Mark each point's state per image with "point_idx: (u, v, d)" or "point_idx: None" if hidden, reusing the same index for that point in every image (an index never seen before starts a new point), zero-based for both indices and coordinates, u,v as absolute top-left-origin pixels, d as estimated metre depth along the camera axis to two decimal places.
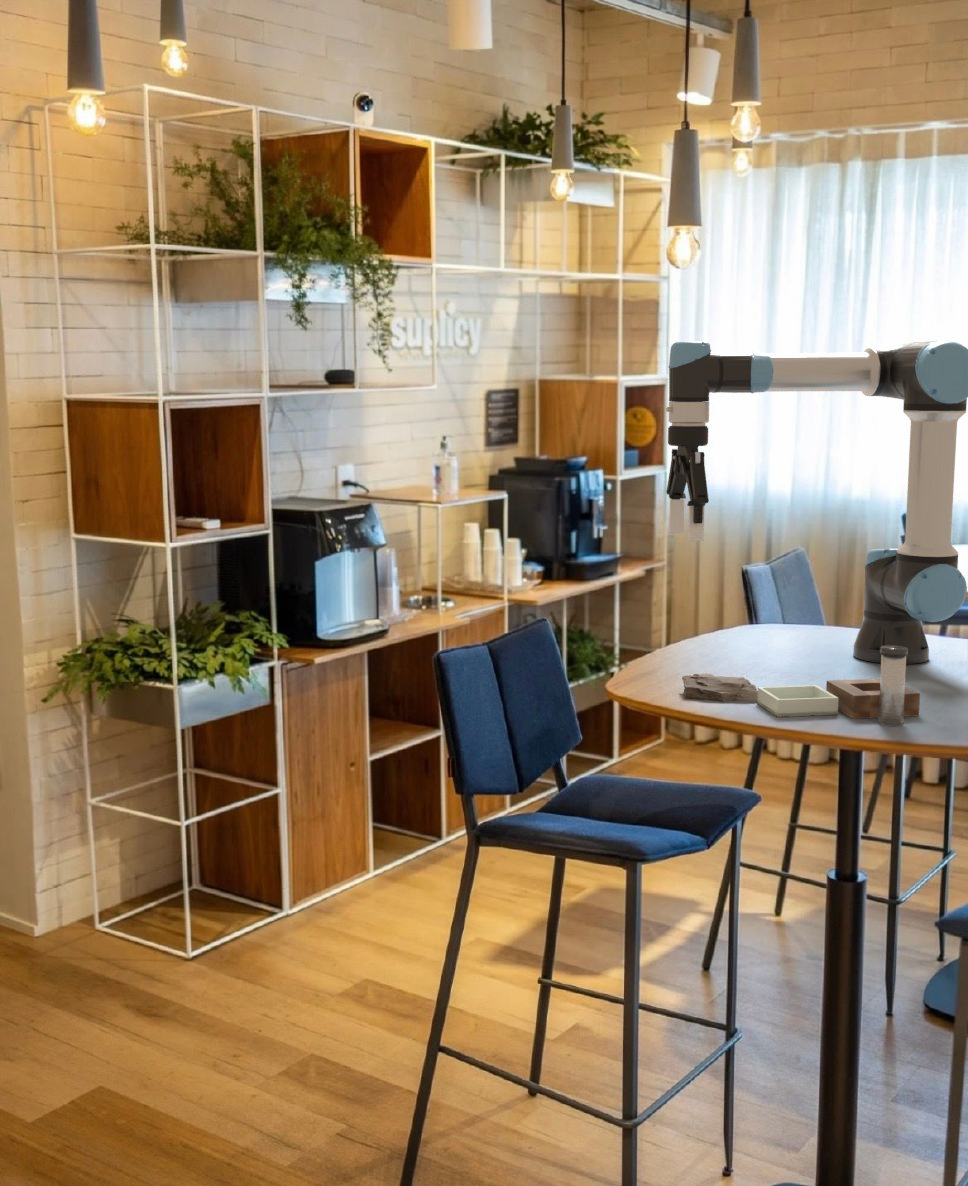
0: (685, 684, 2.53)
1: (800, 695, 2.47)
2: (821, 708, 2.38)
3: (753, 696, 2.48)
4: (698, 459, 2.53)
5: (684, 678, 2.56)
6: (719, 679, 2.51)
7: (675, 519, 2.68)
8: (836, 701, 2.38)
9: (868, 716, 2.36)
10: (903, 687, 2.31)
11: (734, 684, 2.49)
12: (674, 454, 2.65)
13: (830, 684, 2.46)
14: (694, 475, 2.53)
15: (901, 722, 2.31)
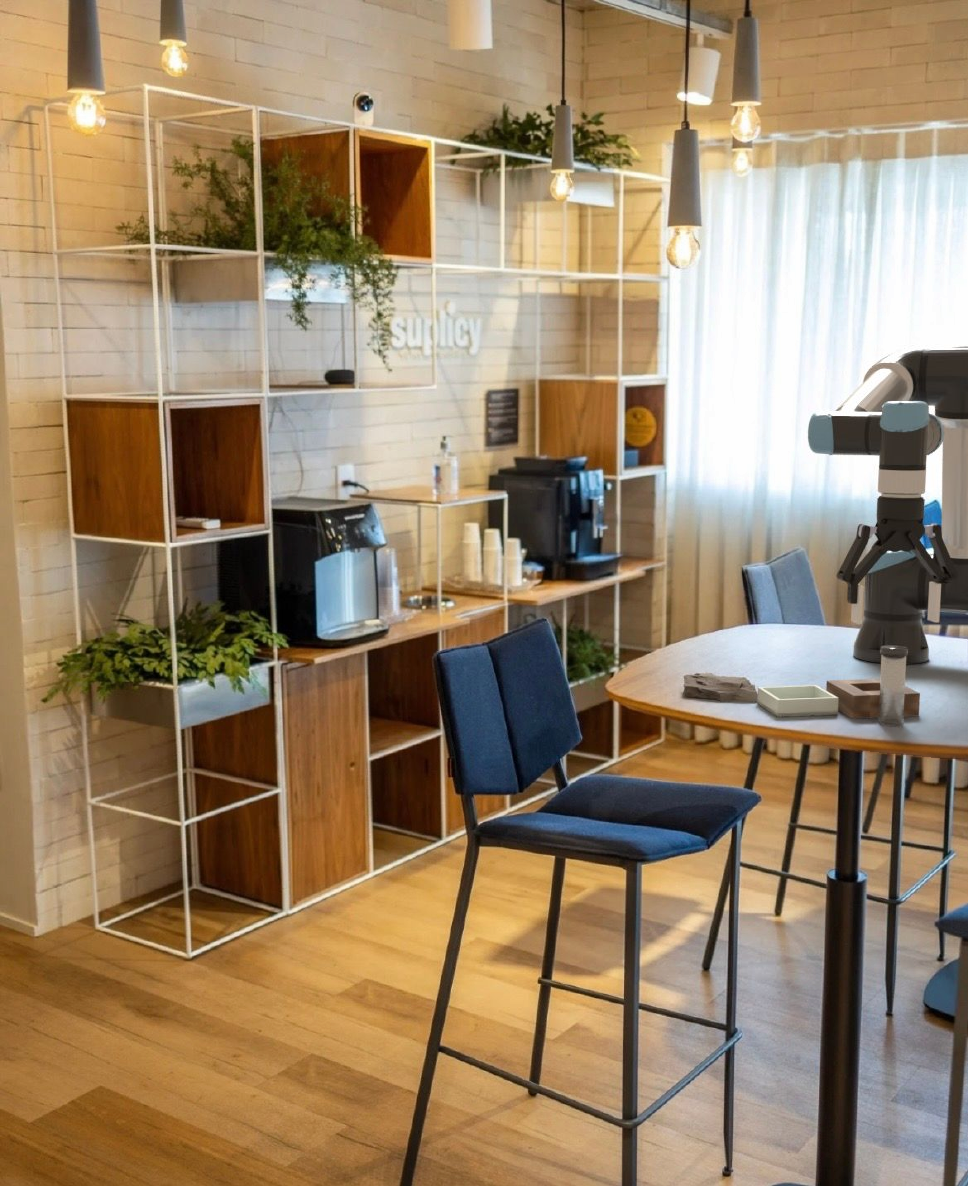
0: (685, 683, 2.54)
1: (800, 695, 2.47)
2: (821, 708, 2.38)
3: (751, 695, 2.48)
4: (860, 533, 2.27)
5: (685, 677, 2.57)
6: (719, 679, 2.52)
7: (930, 605, 2.31)
8: (836, 701, 2.38)
9: (868, 716, 2.36)
10: (903, 687, 2.31)
11: (733, 684, 2.50)
12: None
13: (830, 684, 2.46)
14: (850, 549, 2.28)
15: (901, 722, 2.31)
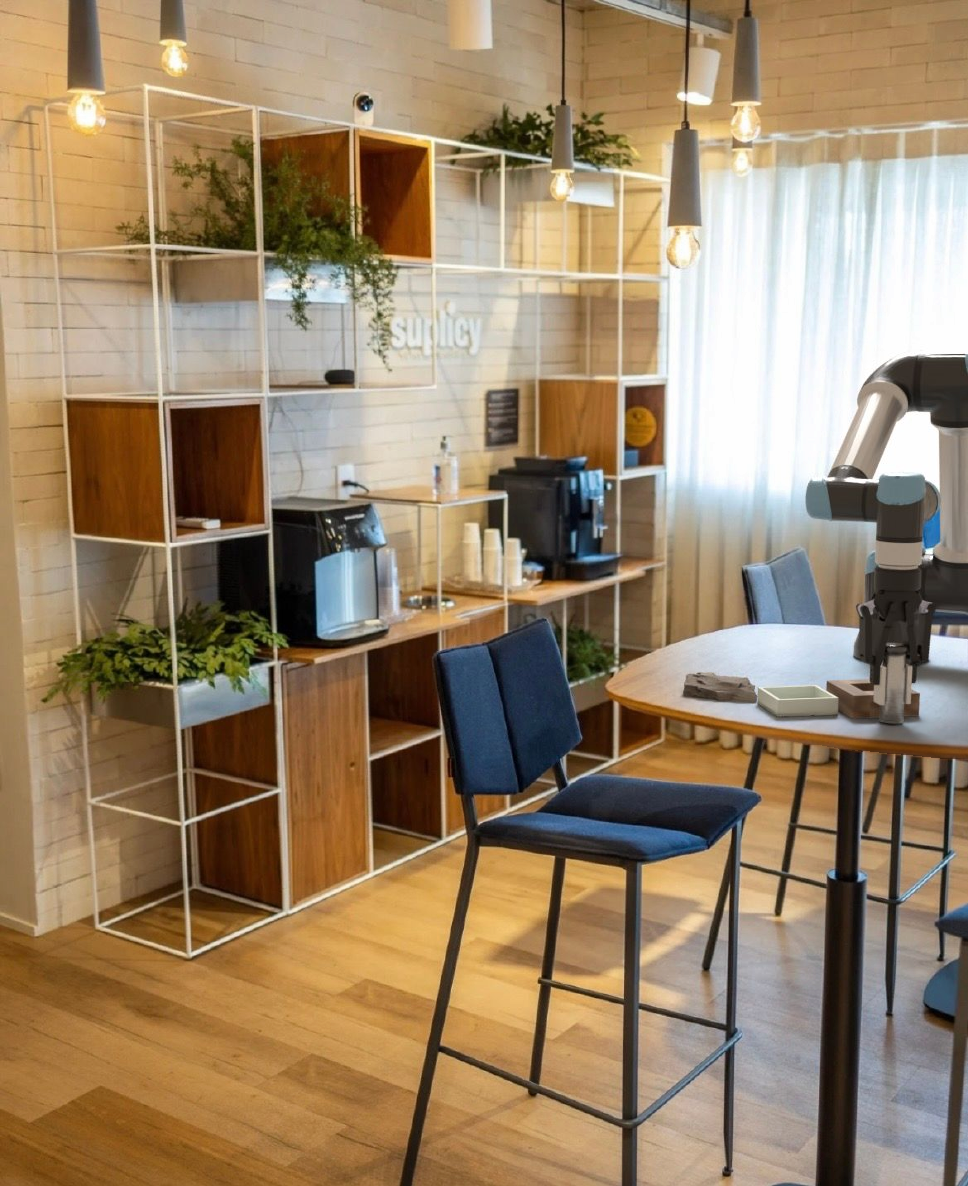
0: (685, 682, 2.55)
1: (800, 695, 2.47)
2: (821, 708, 2.38)
3: (750, 696, 2.48)
4: (860, 614, 2.29)
5: (687, 676, 2.58)
6: (718, 678, 2.52)
7: None
8: (836, 701, 2.38)
9: (868, 716, 2.36)
10: (903, 684, 2.31)
11: (732, 684, 2.50)
12: None
13: (830, 684, 2.46)
14: (859, 630, 2.31)
15: (901, 719, 2.32)
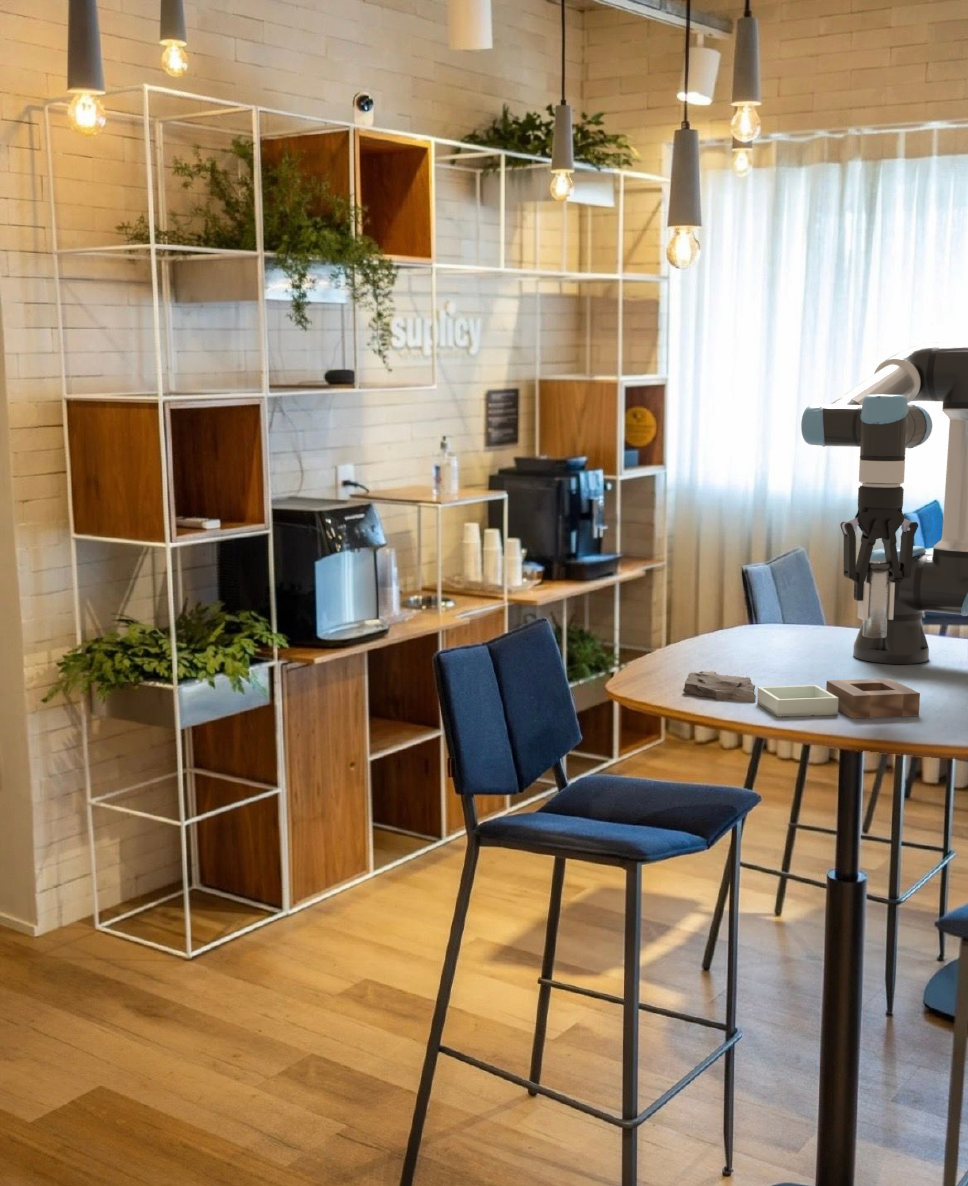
0: (686, 680, 2.56)
1: (800, 695, 2.47)
2: (821, 708, 2.38)
3: (748, 695, 2.49)
4: (845, 531, 2.37)
5: (690, 675, 2.59)
6: (719, 677, 2.53)
7: None
8: (836, 701, 2.38)
9: (868, 716, 2.36)
10: (886, 600, 2.38)
11: (731, 683, 2.50)
12: None
13: (830, 684, 2.46)
14: (844, 548, 2.38)
15: (884, 634, 2.39)
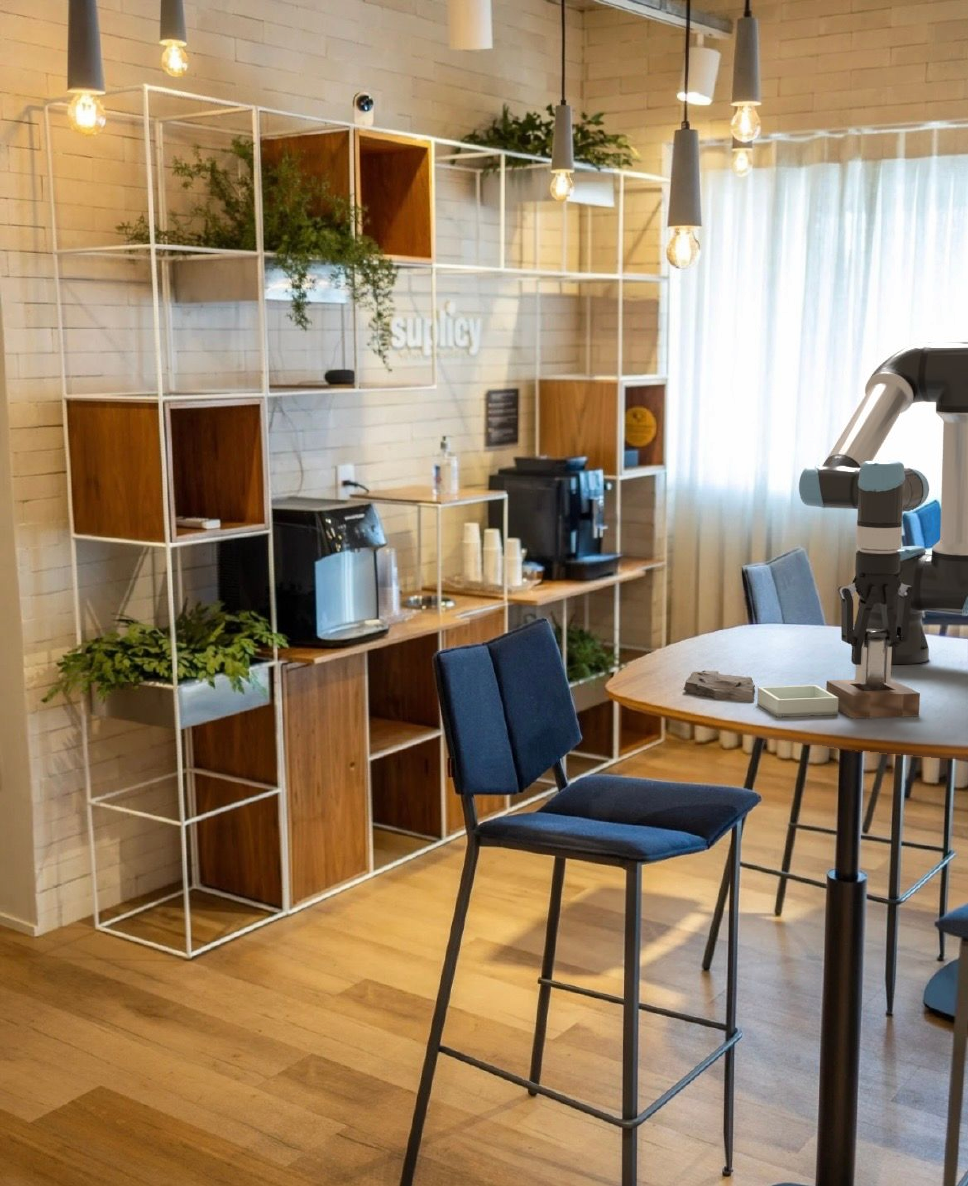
0: (687, 679, 2.57)
1: (800, 695, 2.47)
2: (821, 708, 2.38)
3: (746, 695, 2.49)
4: (842, 596, 2.39)
5: (692, 674, 2.59)
6: (719, 677, 2.53)
7: None
8: (836, 701, 2.38)
9: (868, 716, 2.36)
10: (883, 668, 2.40)
11: (730, 682, 2.51)
12: None
13: (830, 684, 2.46)
14: (842, 612, 2.40)
15: None
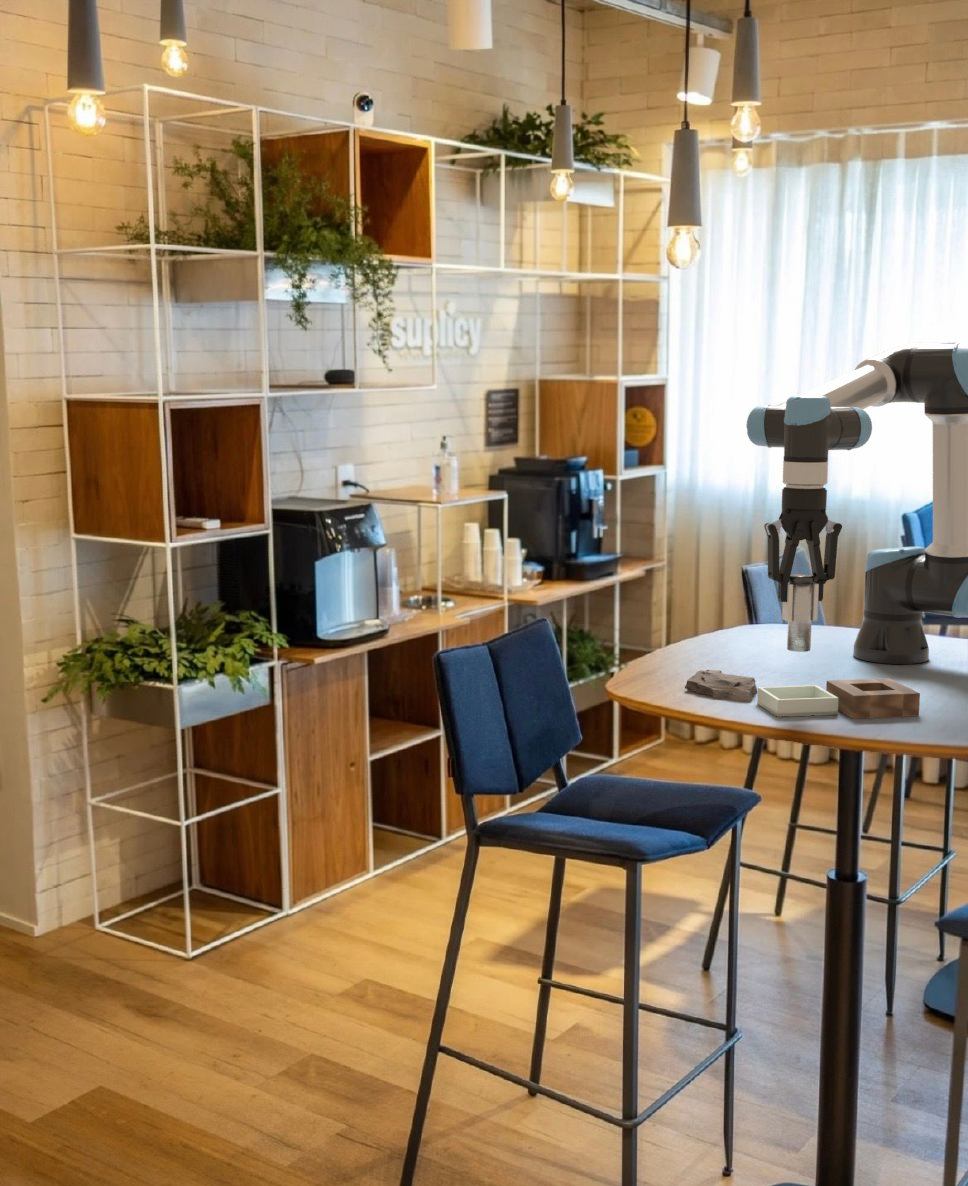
0: (690, 678, 2.58)
1: (800, 695, 2.47)
2: (821, 708, 2.38)
3: (744, 695, 2.49)
4: (768, 532, 2.37)
5: (697, 672, 2.60)
6: (719, 676, 2.54)
7: None
8: (836, 701, 2.38)
9: (868, 716, 2.36)
10: (810, 614, 2.39)
11: (729, 682, 2.51)
12: None
13: (830, 684, 2.46)
14: (768, 549, 2.38)
15: (808, 648, 2.40)
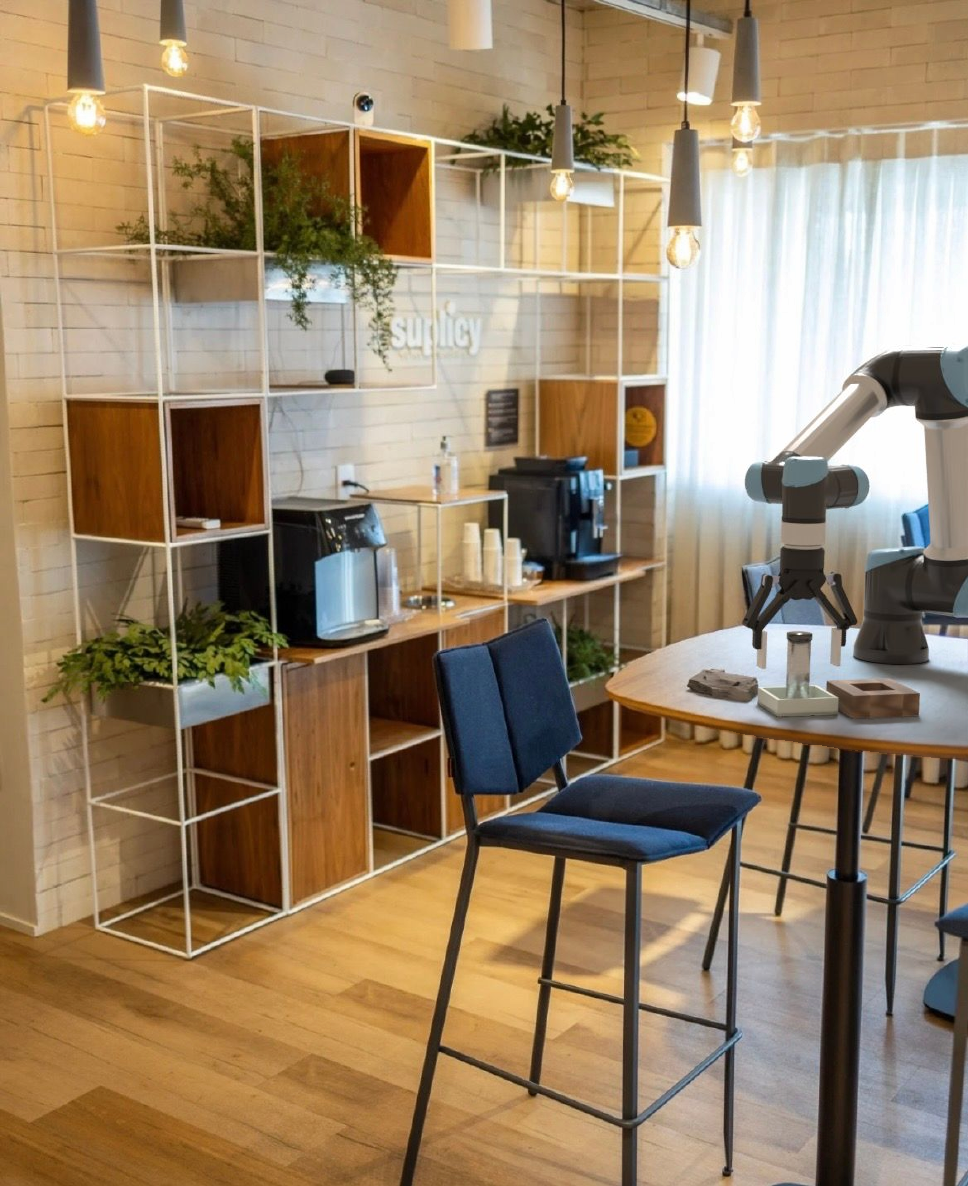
0: (693, 677, 2.59)
1: None
2: (821, 708, 2.38)
3: (742, 695, 2.49)
4: (763, 582, 2.38)
5: (701, 671, 2.61)
6: (720, 675, 2.54)
7: (832, 649, 2.43)
8: (836, 701, 2.38)
9: (868, 716, 2.36)
10: (808, 671, 2.40)
11: (728, 681, 2.52)
12: None
13: (830, 684, 2.46)
14: (755, 597, 2.40)
15: None
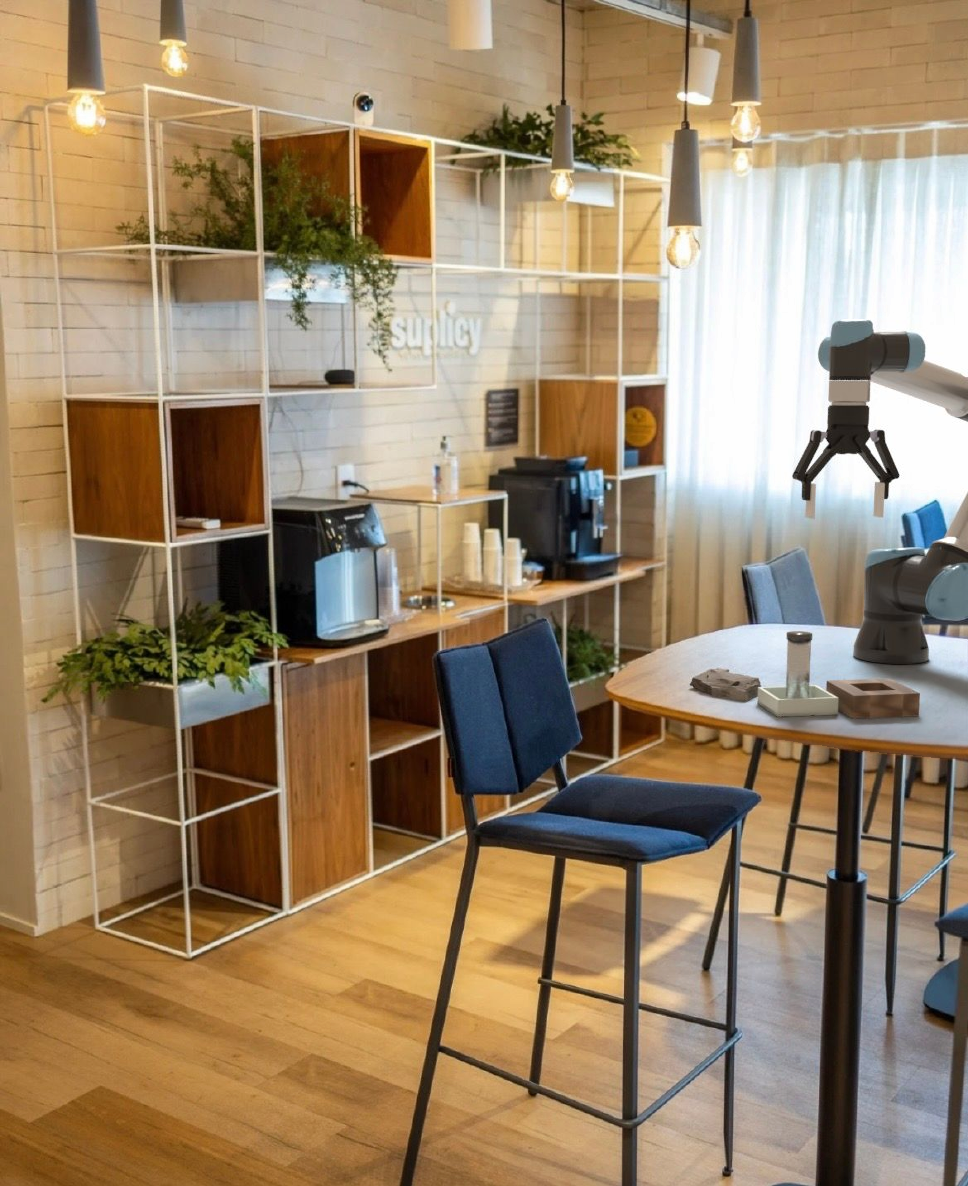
0: (697, 675, 2.60)
1: None
2: (821, 708, 2.38)
3: (740, 694, 2.49)
4: (812, 437, 2.56)
5: (707, 670, 2.62)
6: (722, 675, 2.55)
7: (876, 502, 2.61)
8: (836, 701, 2.38)
9: (868, 716, 2.36)
10: (808, 671, 2.40)
11: (728, 681, 2.52)
12: None
13: (830, 684, 2.46)
14: (804, 452, 2.58)
15: None
